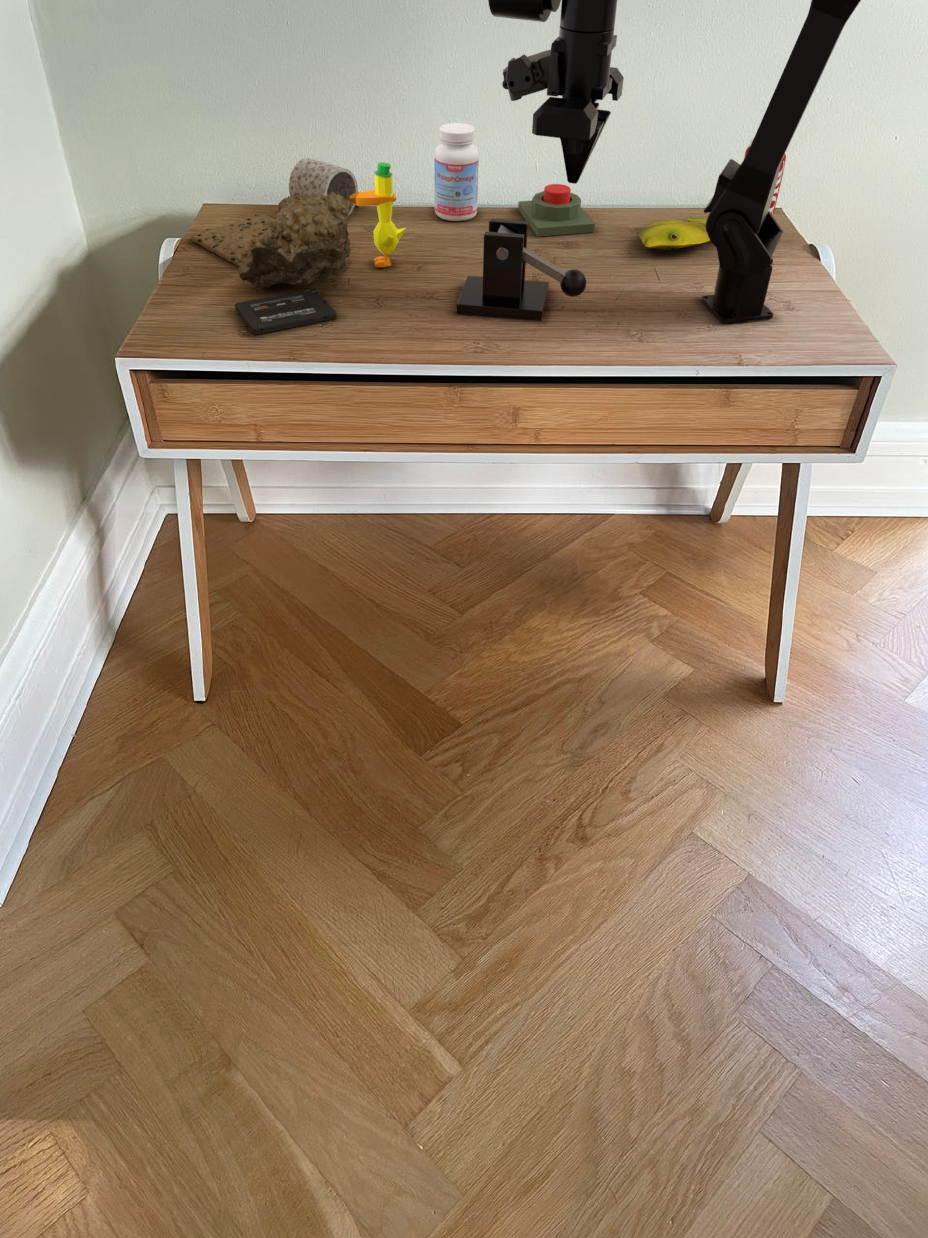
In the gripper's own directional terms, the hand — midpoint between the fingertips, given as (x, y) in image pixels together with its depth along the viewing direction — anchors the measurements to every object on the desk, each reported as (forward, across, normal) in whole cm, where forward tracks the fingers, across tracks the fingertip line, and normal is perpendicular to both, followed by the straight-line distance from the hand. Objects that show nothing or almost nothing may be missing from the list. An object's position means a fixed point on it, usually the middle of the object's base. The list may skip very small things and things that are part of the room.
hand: (572, 182), depth 110 cm
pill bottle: (+12, -16, -19) cm, 28 cm away
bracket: (+12, +9, -5) cm, 15 cm away
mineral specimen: (+11, +9, -31) cm, 34 cm away
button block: (+12, -18, -6) cm, 22 cm away
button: (+9, -18, -6) cm, 21 cm away
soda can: (+12, -21, +20) cm, 32 cm away
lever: (+8, +8, -2) cm, 12 cm away
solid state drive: (+11, +20, -28) cm, 36 cm away
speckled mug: (+9, -12, -40) cm, 42 cm away
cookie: (+12, +2, -41) cm, 43 cm away
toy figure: (+12, +4, -23) cm, 26 cm away
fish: (+11, -18, +7) cm, 22 cm away
